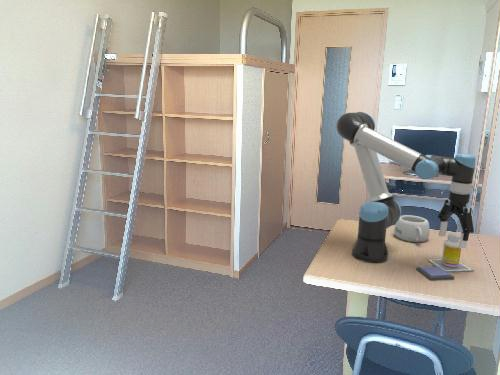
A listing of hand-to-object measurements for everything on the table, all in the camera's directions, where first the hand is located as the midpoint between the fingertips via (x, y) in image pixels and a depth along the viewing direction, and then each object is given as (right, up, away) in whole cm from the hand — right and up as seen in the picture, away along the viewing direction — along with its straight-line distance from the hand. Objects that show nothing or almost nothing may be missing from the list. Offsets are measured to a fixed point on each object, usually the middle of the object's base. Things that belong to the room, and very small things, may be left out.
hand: (451, 241), depth 178 cm
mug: (-4, -3, +34) cm, 34 cm away
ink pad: (-10, -12, -8) cm, 18 cm away
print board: (0, -10, +2) cm, 11 cm away
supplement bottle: (0, -10, +2) cm, 10 cm away
